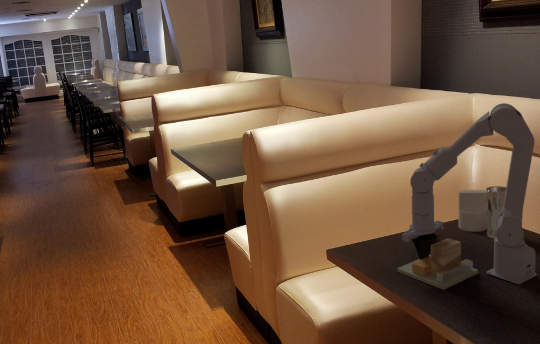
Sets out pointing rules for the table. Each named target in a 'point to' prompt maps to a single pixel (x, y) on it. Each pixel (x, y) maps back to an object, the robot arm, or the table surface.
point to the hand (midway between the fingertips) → (423, 259)
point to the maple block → (445, 254)
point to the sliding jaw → (422, 266)
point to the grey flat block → (443, 274)
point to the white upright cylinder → (472, 210)
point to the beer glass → (494, 207)
